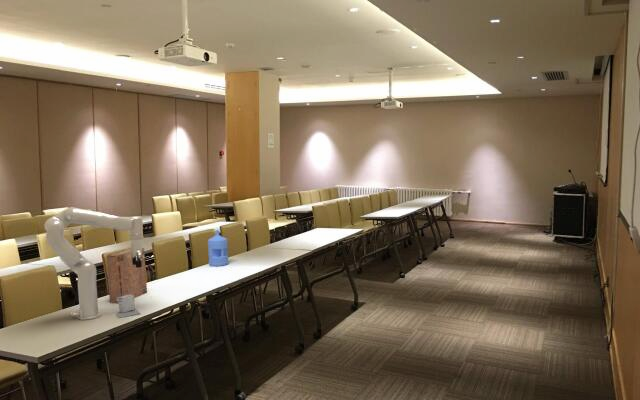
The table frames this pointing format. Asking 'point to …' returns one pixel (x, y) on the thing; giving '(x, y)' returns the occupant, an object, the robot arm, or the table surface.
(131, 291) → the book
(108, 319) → the table surface
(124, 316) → the slate mat
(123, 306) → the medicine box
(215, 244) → the water jug
